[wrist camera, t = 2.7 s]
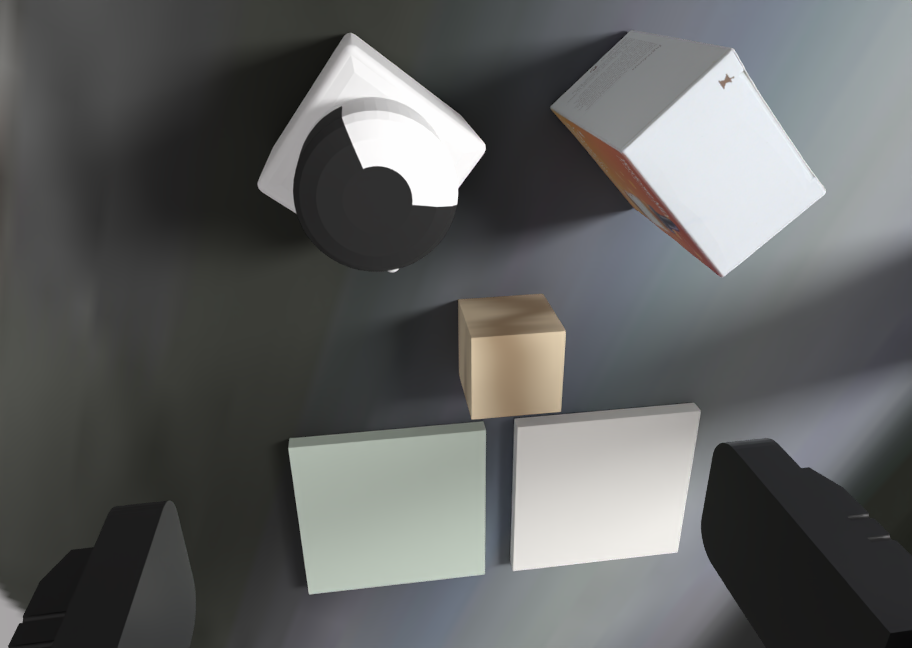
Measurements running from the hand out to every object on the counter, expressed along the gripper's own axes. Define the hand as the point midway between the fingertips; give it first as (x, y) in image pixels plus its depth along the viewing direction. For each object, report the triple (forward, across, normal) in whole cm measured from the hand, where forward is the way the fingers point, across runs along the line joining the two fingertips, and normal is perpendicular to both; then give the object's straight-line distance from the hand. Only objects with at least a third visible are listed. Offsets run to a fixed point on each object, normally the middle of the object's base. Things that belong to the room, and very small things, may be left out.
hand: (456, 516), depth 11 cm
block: (+29, -7, +12) cm, 32 cm away
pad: (+28, -14, +24) cm, 40 cm away
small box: (+29, -14, 0) cm, 32 cm away
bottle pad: (+29, 0, +24) cm, 37 cm away
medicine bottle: (+29, 0, 0) cm, 29 cm away
